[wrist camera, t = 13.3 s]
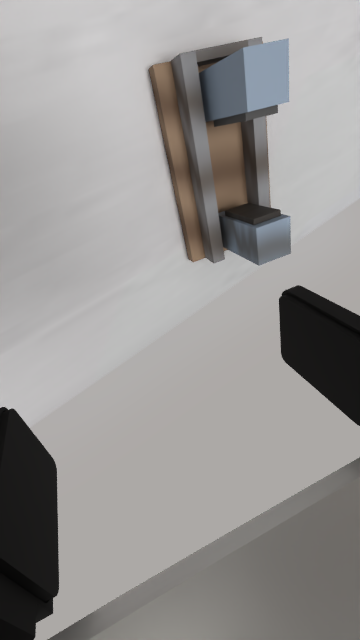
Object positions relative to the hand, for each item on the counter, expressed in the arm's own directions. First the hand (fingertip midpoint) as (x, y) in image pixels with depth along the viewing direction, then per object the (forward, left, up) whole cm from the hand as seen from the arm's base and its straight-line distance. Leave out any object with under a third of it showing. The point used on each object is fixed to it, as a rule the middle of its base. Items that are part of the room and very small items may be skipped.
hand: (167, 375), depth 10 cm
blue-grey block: (-8, +17, -27) cm, 33 cm away
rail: (-2, +17, -28) cm, 33 cm away
